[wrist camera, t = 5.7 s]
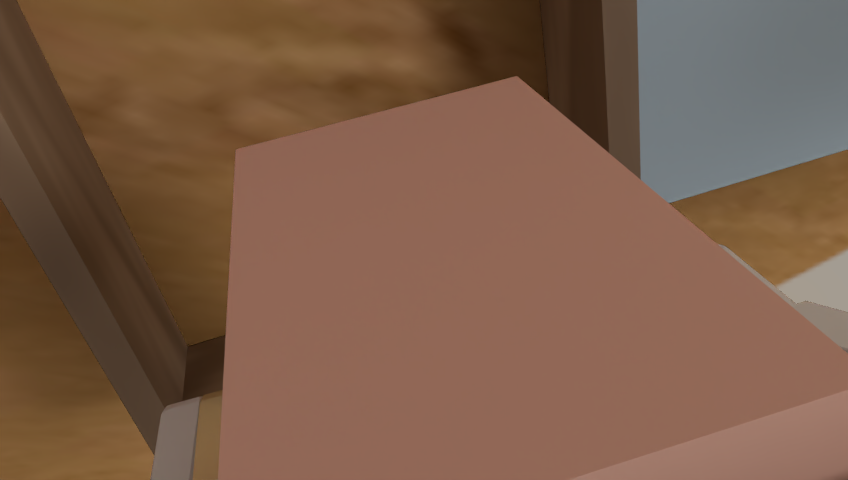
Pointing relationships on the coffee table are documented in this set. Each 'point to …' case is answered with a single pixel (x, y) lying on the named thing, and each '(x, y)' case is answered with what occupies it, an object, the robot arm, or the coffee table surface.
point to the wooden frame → (117, 249)
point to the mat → (738, 89)
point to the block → (502, 314)
